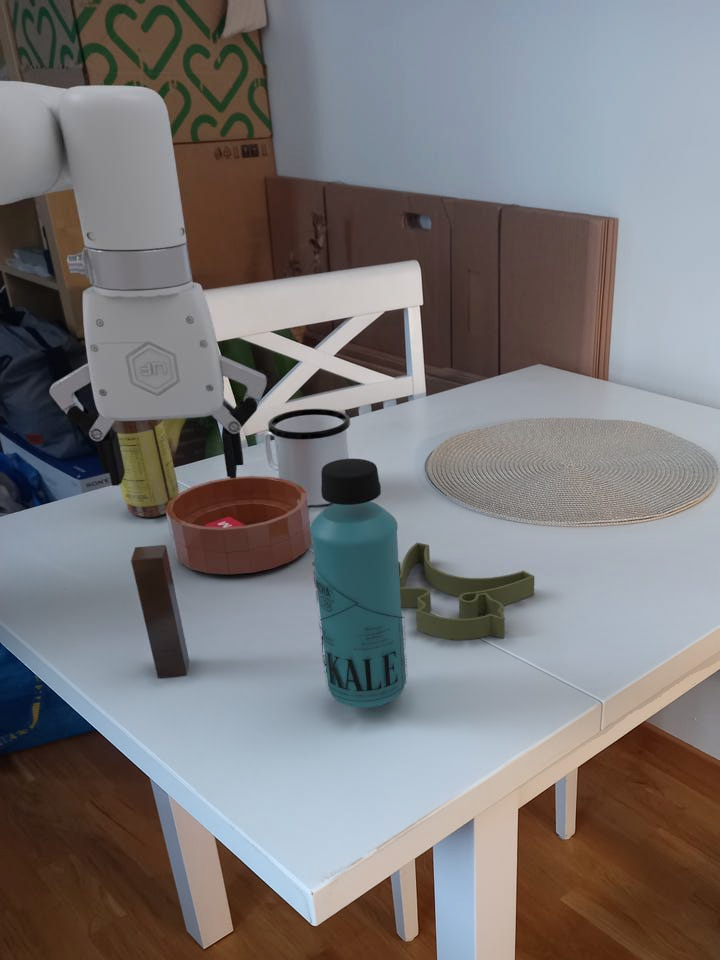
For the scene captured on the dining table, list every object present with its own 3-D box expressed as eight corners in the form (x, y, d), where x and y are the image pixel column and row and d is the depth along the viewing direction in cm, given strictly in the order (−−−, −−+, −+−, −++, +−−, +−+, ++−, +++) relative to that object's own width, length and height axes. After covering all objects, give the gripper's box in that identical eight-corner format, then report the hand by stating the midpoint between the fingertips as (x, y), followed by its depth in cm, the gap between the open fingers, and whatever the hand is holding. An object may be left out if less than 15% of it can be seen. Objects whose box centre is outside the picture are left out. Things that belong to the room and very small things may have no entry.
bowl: (168, 585, 92) (158, 534, 89) (182, 527, 104) (174, 481, 101) (313, 572, 94) (307, 523, 91) (310, 517, 106) (305, 471, 103)
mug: (371, 488, 113) (366, 415, 108) (322, 515, 106) (314, 438, 101) (296, 470, 118) (288, 400, 114) (244, 495, 111) (233, 422, 107)
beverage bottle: (376, 670, 78) (357, 441, 68) (426, 702, 74) (415, 464, 63) (311, 701, 74) (281, 463, 64) (361, 737, 70) (337, 489, 60)
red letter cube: (208, 551, 97) (203, 524, 95) (233, 542, 99) (229, 516, 97) (223, 560, 95) (219, 533, 93) (249, 550, 97) (244, 524, 95)
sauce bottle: (159, 495, 112) (124, 325, 101) (193, 506, 109) (161, 333, 98) (113, 513, 107) (72, 337, 97) (147, 525, 104) (108, 345, 94)
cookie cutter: (552, 597, 89) (553, 579, 88) (484, 653, 80) (484, 633, 79) (404, 553, 97) (403, 536, 96) (328, 599, 89) (326, 581, 88)
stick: (157, 678, 77) (130, 559, 72) (160, 663, 79) (134, 546, 74) (186, 675, 78) (162, 557, 72) (189, 660, 80) (165, 544, 74)
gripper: (12, 281, 68) (64, 499, 76) (253, 274, 71) (277, 485, 79) (33, 264, 74) (79, 467, 83) (254, 259, 77) (276, 456, 86)
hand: (176, 476), depth 81 cm, fingers open, 9 cm apart
